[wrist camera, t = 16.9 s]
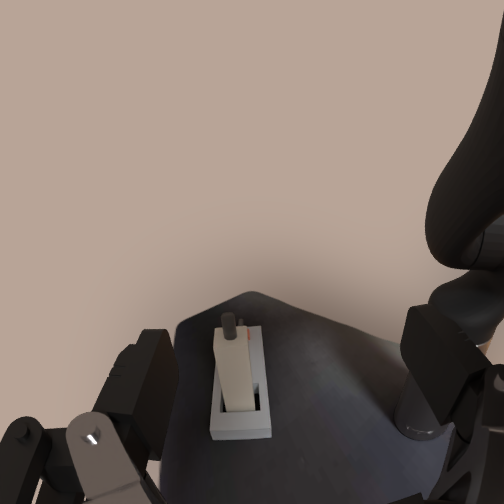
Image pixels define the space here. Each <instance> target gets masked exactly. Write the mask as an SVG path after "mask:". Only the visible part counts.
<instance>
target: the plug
mask: <svg viewBox="0 0 504 504" xmlns="http://www.w3.org/2000/svg"><path fill="white" fill-rule="evenodd" d="M221 321H222V328H215V334H214V344H213V349H214V355H215V360H216V365H217V369H218V374H219V379H220V384H221V388H222V393H223V398H224V402H225V407H226V411H227V412H248V411H255V398H254V389H253V380H252V371H251V362H250V353H249V344H248V334H247V326H237V327H236V323H235V315H234V313H232V312H226V313H223V314H222V315H221Z"/></svg>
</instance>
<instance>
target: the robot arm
mask: <svg viewBox="0 0 504 504" xmlns="http://www.w3.org/2000/svg"><path fill="white" fill-rule="evenodd" d="M425 235H426V241H427V244H428V247H429V249H430V252H431V254H432V255H433V257H434V258H435V259H436V260H437V261H438V262H439V263H441V264H443V265H445V266H447V267H450V268H455V269H463V270H469V272H467V273H466V274H464V275H463V276H461V277H459V278H457V279H455V280H452V281H450V282H447V283H445V284H442V285H441V286H439V287H437V288H436V289H435V290H434V291H433V293H432V294H431V296H430V298H429V301H428V304H424V305H418V306H412V307H410V308H409V310H408V313H407V317H406V322H405V326H404V331H403V335H402V339H401V343H400V351H401V356H402V359H403V361H404V362H405V364H406V366H407V367H408V369H409V374H408V376H407V379H406V382H405V385H404V388H403V391H402V393H401V396H400V398H399V401H398V404H397V406H396V409H395V412H394V421H395V424H396V426H397V428H398V429H399V430H400V431H401V432H402V433H403V434H404V435H405V436H407V437H409V438H411V439H414V440H420V441H425V440H431V439H434V438H436V437H438V436H440V435H441V434H442V433H443V432H444V431H445V430H446V429H447V427H448V425H449V424H450V423H451V422H453V423H454V424H455V427H454V428H453V430H452V433H451V438H450V442H449V446H448V450H447V454H446V458H445V461H444V465H443V468H442V471H441V475H440V477H439V480H438V482H437V483H436V485H435V487H434V488H433V490H432V491H431V493H430V495H429V497H428V499H427V500H423V497H422V494H421V492H420V493H418V494H415V495H412V496H410V497H407V498H404V499H401V500H398V501H395V502H392V503H389V504H504V365H503V364H496V365H492V364H491V362H490V361H489V360H488V359H487V358H486V356H485V355H486V352H487V350H488V347H489V345H490V342H491V340H492V337H493V335H494V332H495V330H496V327H497V326H498V324H499V323H500V322H501V321H502V320H503V318H504V13H503V18H502V24H501V28H500V33H499V39H498V44H497V49H496V54H495V58H494V62H493V66H492V70H491V73H490V77H489V79H488V82H487V85H486V88H485V91H484V94H483V97H482V99H481V102H480V104H479V107H478V109H477V112H476V114H475V116H474V118H473V120H472V123H471V125H470V127H469V129H468V131H467V133H466V135H465V136H464V138H463V140H462V141H461V143H460V144H459V146H458V148H457V149H456V151H455V152H454V154H453V156H452V157H451V159H450V160H449V162H448V163H447V165H446V167H445V168H444V170H443V171H442V173H441V174H440V176H439V178H438V180H437V182H436V184H435V186H434V188H433V190H432V194H431V196H430V199H429V203H428V207H427V212H426V219H425ZM178 380H179V369H178V364H177V360H176V357H175V354H174V350H173V347H172V343H171V340H170V336H169V333H168V331H167V330H166V329H144V330H143V331H142V332H141V334H140V336H139V339H138V341H137V343H136V344H129V345H128V346H127V347H126V348H125V349H124V350H123V351H122V352H121V353H120V354H119V355H118V357H117V359H116V361H115V363H114V368H112V369H111V371H110V373H109V377H107V380H106V382H105V384H104V386H103V388H102V390H101V392H100V394H99V396H98V398H97V401H96V403H95V405H94V407H93V410H92V411H91V412H86V413H83V414H81V415H79V416H77V417H76V418H75V419H73V420H72V421H71V422H70V424H69V425H68V427H67V428H54V429H44V428H43V427H42V425H41V424H40V423H39V422H38V421H37V420H36V419H35V418H33V417H27V416H25V417H21V418H18V419H16V420H15V421H13V422H12V423H11V424H10V426H9V427H8V428H7V430H6V432H5V434H4V436H3V438H2V440H1V442H0V504H31V503H32V500H33V497H34V494H35V490H36V488H37V485H38V482H39V479H40V478H41V479H42V480H43V481H42V484H41V488H40V491H39V494H38V497H37V500H36V503H35V504H168V503H167V502H166V500H165V499H164V497H163V496H162V494H161V493H160V491H159V490H158V488H157V487H156V485H155V483H154V482H153V480H152V479H151V477H150V476H149V474H148V472H147V471H146V467H147V463H148V460H155V461H161V456H162V452H163V447H164V442H165V438H166V433H167V429H168V424H169V420H170V415H171V411H172V406H173V402H174V398H175V394H176V389H177V385H178ZM85 496H86V501H84V497H85Z"/></svg>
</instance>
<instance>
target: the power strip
mask: <svg viewBox="0 0 504 504" xmlns="http://www.w3.org/2000/svg"><path fill="white" fill-rule="evenodd" d="M238 326H244V320H243V319H239V320H238ZM247 334H248V344H249V353H250V362H251V371H252V380H253V389H254V394H258V393H259V396H260V410H261V411H248V412H227V413H223V399H224V398H223V393H222V388H221V384H220V379H219V374H218V369H217V365H215V376H214V387H213V398H212V409H211V421H210V433H211V436H212V439H213V440H238V439H256V438H269V437H272V435H271V422H270V412H269V402H268V392H267V382H266V372H265V362H264V352H263V342H262V332H261V326H253V327H247Z"/></svg>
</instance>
